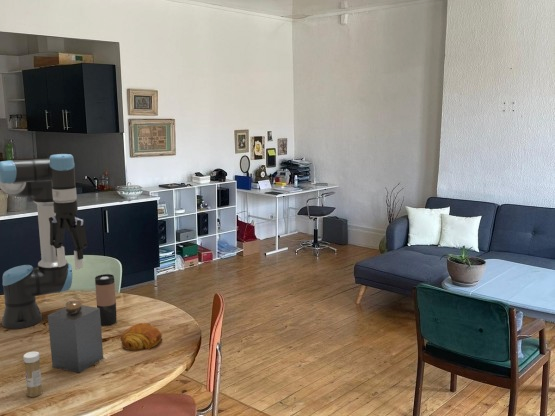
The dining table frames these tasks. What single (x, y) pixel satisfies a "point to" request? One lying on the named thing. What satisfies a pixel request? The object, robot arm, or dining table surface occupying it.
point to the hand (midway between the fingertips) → (70, 267)
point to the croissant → (141, 337)
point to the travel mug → (106, 299)
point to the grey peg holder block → (75, 338)
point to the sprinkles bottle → (33, 374)
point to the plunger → (73, 306)
